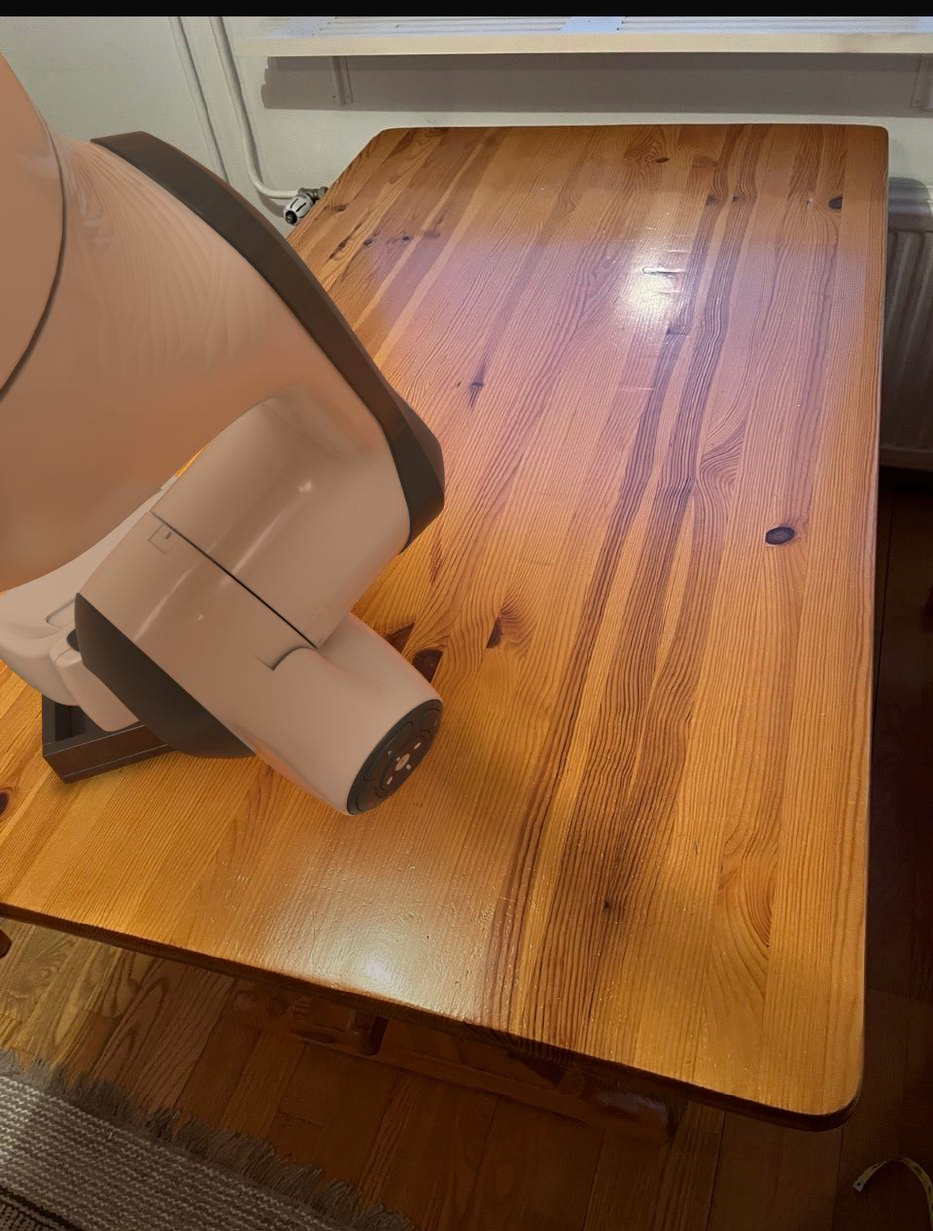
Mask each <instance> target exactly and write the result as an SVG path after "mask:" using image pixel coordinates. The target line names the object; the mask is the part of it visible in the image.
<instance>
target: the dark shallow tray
mask: <svg viewBox="0 0 933 1231" xmlns="http://www.w3.org/2000/svg"><path fill="white" fill-rule="evenodd" d="M41 748H42V749H41V754H42V756H41V757H42V758H43V760H45V762H46V763H47V765H48V766H49V767H50V769H52V770H53V772H54V773H55V774H56V775H57V776H58V777H59V778H60V779H59V780H61V781H62V782H63V784H64V785H68V784H72V783H75V782H79V781H81V780H84V779H87V778H91V777H94V776H97V775H101V774H104V773H107V772H111V771H113V770H114V771H115V770H117V769H120V768H123V767H126V766H129V765H133V764H136V763H139V762H143V761H145V760H149V759H153V758H155V757H159V756H162V755H165V754H169V753H172V752H174V751H177V750H176V749H174V748H172V747H171V746H169V745H168V744H166V743H165V742H164V741H162V740H161V739H160V738H158V737H157V736H156V735H155V734H153V733H152V732H151V731H150V730H149V729H148V728H147V727H146V726H145V725H144V724H143V723H142V722H140V721H138V722H135V723H133V724H131V725H129V726H127V727H124V728H122V729H119V730H116V731H105V730H103V729H102V728H100V727H99V726H98V725H97V724H96V723H95V722H94V721H93V720H92V719H91V718H90V717H89V716H88V715H87V714H86V713H85V712H84V711H83V710H82V709H81V708H80V706H79V705H76V706H73V705H65V704H61V703H58V702H55V701H53V700H51V699H50V698H48V697H46V696H45V695H43V694H42V693H41Z"/></svg>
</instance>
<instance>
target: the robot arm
mask: <svg viewBox="0 0 933 1231" xmlns="http://www.w3.org/2000/svg"><path fill="white" fill-rule="evenodd" d="M198 453H199V454H198ZM197 454H198V455H197ZM195 456H197V457H195ZM194 457H195V459H194V460H193V461H192V462H191V463H190V464H189V465H188V467H187V468H186V469H185V470H184V471H183V472H182V473H181V474H180V475H179V476H178V475H176V474H177V473H178V472H179V471H180V470H181V469H182V468H184V467H185V465H186V464H188V463H189V462H190V461H191V460H192V459H193V458H194ZM445 470H446V469H445V462H444V455H443V450H442V446H441V443H440V441H439V440H438V438H437V437H436V435H435V434H434V432H433V431H432V429H430V427H429V426H428V424H427V423H426V421H425V419H424V418H423V417H422V416H421V414H420V413H419V412H418V410H416V408H415V407H414V406H413V405H412V404H411V403H410V402H409V400H407V399H406V398H405V397H404V396H403V394H401V393H400V392H399V391H397V389H395V388H394V387H393V386H392V385H391V384H390V383H389V381H388V380H387V378H386V376H384V374H383V373H382V371H381V370H380V368H379V367H378V365H377V364H376V362H375V361H374V359H373V358H372V357H371V355H370V353H369V352H368V350H367V349H366V348H365V346H364V345H363V343H362V341H361V340H360V339H359V337H358V335H357V334H356V333H355V332H354V330H353V329H352V327H351V326H350V323H348V321H347V319H346V318H345V316H344V315H343V313H342V312H341V310H340V309H339V308H338V306H337V304H336V303H335V302H334V300H333V299H332V298H331V296H330V295H329V293H328V291H326V289H325V288H324V286H323V285H322V283H321V282H320V281H319V279H318V278H317V277H316V276H315V274H314V272H312V270H311V269H310V268H309V266H308V265H307V263H305V261H304V260H303V259H302V257H301V256H300V255H299V253H298V252H297V251H296V250H295V248H294V247H293V246H292V245H291V244H290V243H289V241H288V240H287V239H286V237H284V235H283V234H282V232H280V231H279V229H278V228H277V227H276V226H275V225H274V224H273V223H272V222H271V221H270V220H269V219H268V218H267V217H266V216H265V215H264V214H263V213H262V212H261V211H260V210H259V209H258V208H257V207H255V205H254V204H252V203H251V202H250V201H249V200H248V199H247V198H245V197H244V195H243V194H241V193H240V192H239V191H238V190H236V189H235V188H234V187H233V186H232V185H230V184H229V183H228V182H227V181H225V180H224V179H223V178H222V177H220V176H219V175H218V174H217V173H215V172H213V170H211V169H209V167H206V166H205V165H203V164H202V163H201V162H200V161H198V160H196V159H195V158H193V157H191V156H190V155H189V154H187V153H185V152H184V151H182V150H181V149H179V148H177V147H176V146H174V145H173V144H170V143H168V142H167V141H165V140H163V139H161V138H159V137H157V136H154V135H153V134H151V133H149V132H146V131H143V130H137V131H131V132H125V133H120V134H119V133H118V134H113V135H107V136H101V137H100V136H99V137H95V138H91V139H89V141H84V140H81V139H76V138H72V137H69V136H66V135H64V134H62V133H60V132H58V131H56V129H55V128H54V127H53V126H52V125H51V123H50V122H49V121H48V120H47V119H46V118H45V115H44V114H43V113H42V112H41V110H40V109H39V107H38V105H37V104H36V103H35V102H34V100H33V98H32V97H31V95H30V94H29V93H28V91H27V89H26V88H25V86H24V85H23V83H22V82H21V80H20V79H19V77H18V76H17V74H16V73H15V71H14V70H13V68H12V67H11V66H10V64H9V63H8V61H7V60H6V58H5V57H4V55H3V54H2V52H1V51H0V593H2V594H0V660H1V661H2V662H3V663H4V664H5V666H7V667H8V669H9V670H11V671H12V672H13V673H14V674H15V675H16V676H18V678H20V679H21V680H22V681H24V683H26V684H27V685H29V686H30V687H31V688H33V689H34V690H36V691H37V692H39V693H40V694H41V695H42V694H43V695H45V696H46V697H48V698H50V699H51V700H53V701H55V702H58V703H61V704H65V705H73V706H76V705H79V706H80V708H81V709H82V710H83V711H84V712H85V713H86V714H87V715H88V716H89V717H90V718H91V719H92V720H93V721H94V722H95V723H96V724H97V725H98V726H99V727H100V728H102V729H103V730H105V731H116V730H119V729H122V728H124V727H127V726H129V725H131V724H133V723H135V722H138V721H140V722H142V723H143V724H144V725H145V726H146V727H147V728H148V729H149V730H150V731H151V732H152V733H153V734H155V735H156V736H157V737H158V738H160V739H161V740H162V741H164V742H165V743H166V744H168V745H169V746H171V747H172V748H174V749H176V750H175V751H177V752H180V753H181V754H183V755H186V756H189V757H192V758H197V759H201V760H203V759H206V760H239V759H241V760H242V759H248V758H253V757H256V756H257V757H258V758H260V759H261V760H262V761H263V762H264V763H266V764H267V765H268V766H269V767H270V768H272V769H273V770H274V771H275V772H277V773H278V774H280V775H281V776H282V777H284V778H285V779H286V780H287V781H289V782H291V783H292V784H293V785H295V786H296V787H297V788H299V789H300V790H302V791H304V792H305V793H307V794H308V795H310V796H311V797H312V798H315V800H318V801H319V802H321V803H322V804H324V805H326V806H327V807H329V808H331V809H332V810H334V811H336V812H337V813H340V814H342V815H344V816H348V817H354V816H360V815H362V814H364V813H366V812H368V811H371V810H373V809H376V808H377V807H379V806H381V804H383V803H384V802H385V801H386V800H387V799H389V798H390V797H392V796H394V794H395V793H396V792H397V791H398V790H399V789H400V788H401V787H402V786H403V785H404V783H405V782H406V781H407V780H408V779H409V778H410V776H411V775H412V774H413V773H414V771H415V770H416V768H417V767H418V766H419V765H420V763H421V762H422V760H423V759H424V758H425V757H426V755H427V754H428V752H429V751H430V750H431V748H432V747H433V744H434V741H435V739H436V738H437V735H438V733H439V731H440V729H441V724H442V718H443V714H444V702H443V699H442V697H441V695H440V694H439V693H438V691H437V690H436V688H434V686H433V685H432V684H431V682H429V681H428V679H427V678H426V677H425V676H424V675H423V674H422V673H421V672H420V671H419V670H418V669H416V667H415V666H414V665H413V664H411V662H409V661H408V659H406V658H405V657H404V655H402V654H401V653H400V651H399V650H397V649H396V648H395V647H394V646H393V645H392V644H390V643H389V642H388V641H387V640H386V639H385V638H384V637H382V635H380V634H379V633H378V632H377V631H376V630H374V629H373V628H372V627H371V626H369V625H368V624H366V622H364V621H363V620H362V619H360V618H359V617H358V616H357V615H355V614H354V613H352V610H353V609H354V608H355V606H357V604H358V603H359V602H360V600H361V599H362V598H363V597H364V596H365V595H366V594H367V593H368V591H369V590H370V588H371V587H372V586H373V585H374V584H375V583H376V581H377V580H378V579H379V578H380V577H381V575H382V574H383V573H384V572H385V571H386V569H387V568H388V567H389V566H390V565H391V563H392V562H393V561H394V560H395V559H396V557H397V556H399V555H401V554H402V553H403V552H405V550H407V549H408V548H409V547H410V545H411V544H413V542H415V540H417V538H418V537H419V536H421V535H422V533H423V532H424V531H425V530H426V529H427V528H428V527H429V526H430V525H431V524H432V523H433V522H434V521H435V520H436V519H437V518H438V517H439V515H440V514H441V513H443V511H444V508H445V496H446V472H445Z"/></svg>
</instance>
